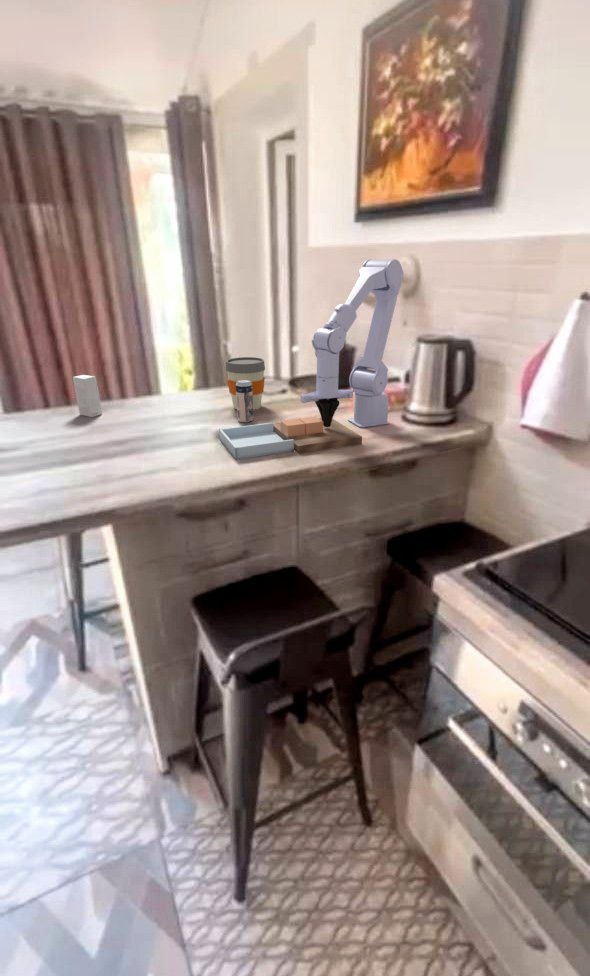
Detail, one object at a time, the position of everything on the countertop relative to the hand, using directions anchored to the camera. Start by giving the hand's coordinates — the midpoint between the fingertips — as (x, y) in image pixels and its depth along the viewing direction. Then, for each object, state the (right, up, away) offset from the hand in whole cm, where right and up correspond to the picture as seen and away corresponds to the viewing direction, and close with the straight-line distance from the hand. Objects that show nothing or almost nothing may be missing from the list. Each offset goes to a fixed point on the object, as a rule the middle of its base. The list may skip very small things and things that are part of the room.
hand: (326, 426), depth 140 cm
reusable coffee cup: (-24, +10, +29) cm, 39 cm away
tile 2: (-4, -1, -1) cm, 5 cm away
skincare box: (-73, +6, +22) cm, 76 cm away
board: (-3, -3, 0) cm, 4 cm away
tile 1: (-9, -2, -3) cm, 10 cm away
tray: (-19, -6, -6) cm, 20 cm away
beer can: (-23, +3, +14) cm, 28 cm away
